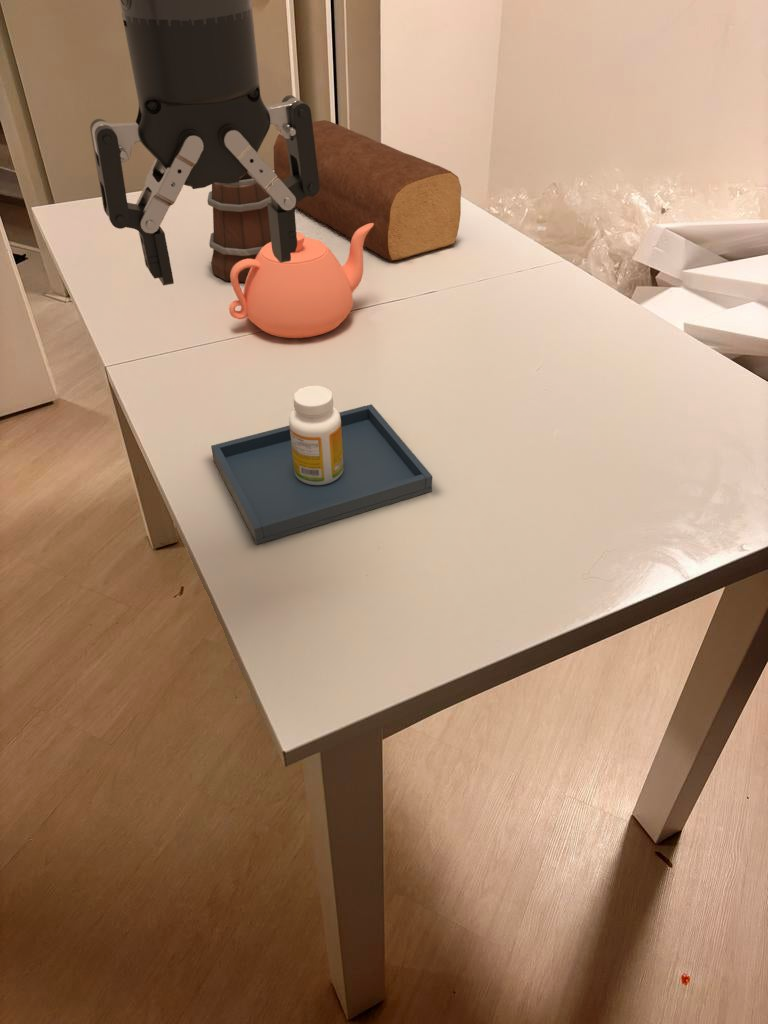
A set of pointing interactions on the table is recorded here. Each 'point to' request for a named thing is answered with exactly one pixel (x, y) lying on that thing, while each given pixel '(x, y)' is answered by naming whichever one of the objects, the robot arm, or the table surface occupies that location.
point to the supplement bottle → (316, 436)
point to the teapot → (299, 288)
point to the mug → (238, 224)
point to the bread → (378, 193)
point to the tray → (299, 506)
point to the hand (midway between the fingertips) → (224, 269)
